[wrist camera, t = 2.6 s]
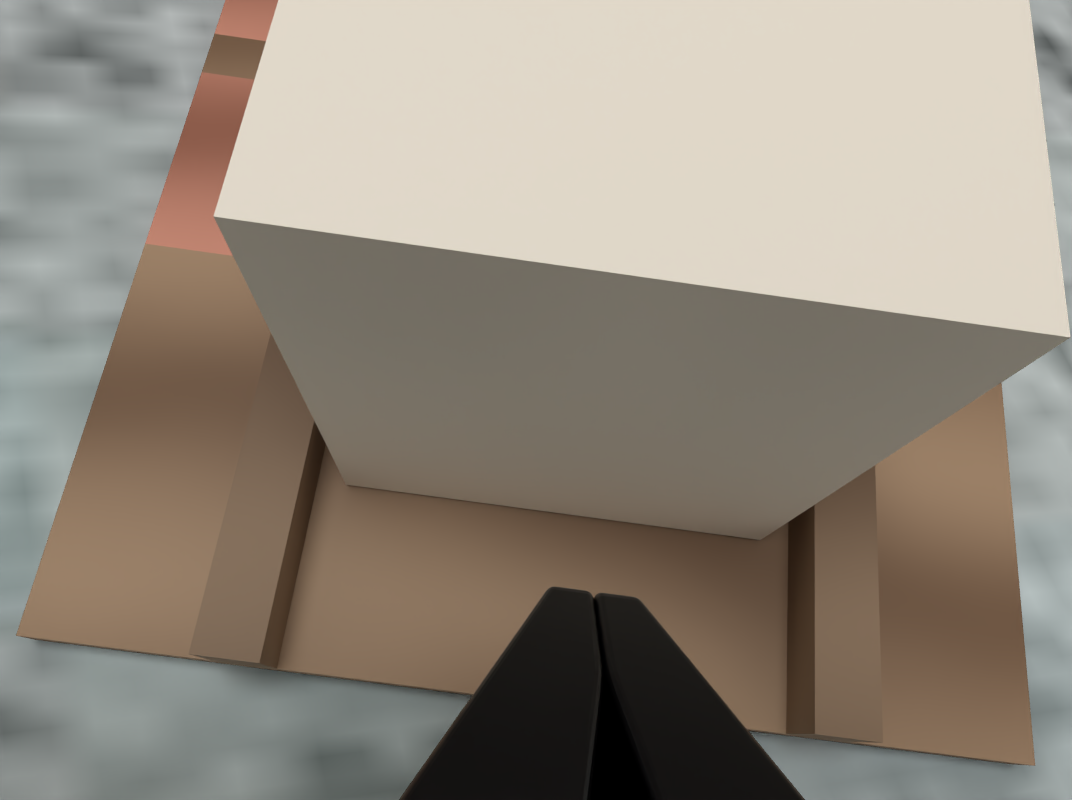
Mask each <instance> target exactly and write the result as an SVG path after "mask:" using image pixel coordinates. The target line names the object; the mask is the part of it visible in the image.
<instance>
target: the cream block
mask: <svg viewBox="0 0 1072 800" xmlns="http://www.w3.org/2000/svg"><path fill="white" fill-rule="evenodd" d="M213 217H214V219H215V221H216V223H217V225H218V227H219V229H220V231H221V233H222V235H223V237H224V239H225V241H226V243H227V245H228V247H229V249H230V251H231V253H232V255H233V257H234V259H235V261H236V263H237V265H238V267H239V269H240V271H241V273H242V275H243V277H244V279H245V281H246V283H247V285H248V287H249V289H250V291H251V293H252V295H253V297H254V299H255V302H256V304H257V306H258V308H259V310H260V312H261V314H262V316H263V318H264V320H265V322H266V324H267V326H268V328H269V330H270V332H271V334H272V336H273V338H274V340H275V342H276V344H277V346H278V348H279V350H280V352H281V354H282V356H283V358H284V360H285V362H286V364H287V366H288V368H289V370H290V372H291V374H292V376H293V378H294V380H295V382H296V384H297V386H298V388H299V391H300V393H301V395H302V397H303V399H304V401H305V403H306V405H307V407H308V409H309V411H310V413H311V415H312V417H313V419H314V421H315V423H316V425H317V427H318V429H319V431H320V433H321V435H322V437H323V439H324V441H325V443H326V445H327V447H328V449H329V451H330V453H331V455H332V457H333V459H334V461H335V463H336V465H337V467H338V469H339V471H340V473H341V475H342V477H343V480H344V482H345V484H346V485H352V486H359V487H367V488H374V489H382V490H389V491H397V492H404V493H412V494H419V495H427V496H434V497H442V498H449V499H457V500H464V501H472V502H479V503H487V504H494V505H502V506H509V507H517V508H524V509H532V510H539V511H547V512H554V513H562V514H569V515H576V516H584V517H591V518H599V519H606V520H614V521H621V522H629V523H636V524H644V525H651V526H659V527H666V528H674V529H681V530H689V531H696V532H704V533H711V534H719V535H726V536H734V537H741V538H749V539H756V540H761V539H763V538H764V537H766V536H767V535H769V534H770V533H772V532H774V531H775V530H777V529H778V528H780V527H781V526H783V525H784V524H786V523H787V522H789V521H790V520H792V519H793V518H795V517H796V516H798V515H800V514H801V513H803V512H804V511H806V510H807V509H809V508H810V507H812V506H813V505H815V504H816V503H818V502H819V501H821V500H822V499H824V498H826V497H827V496H829V495H830V494H832V493H833V492H835V491H836V490H838V489H839V488H841V487H842V486H844V485H845V484H847V483H848V482H850V481H852V480H853V479H855V478H856V477H858V476H859V475H861V474H862V473H864V472H865V471H867V470H868V469H870V468H871V467H873V466H874V465H876V464H878V463H879V462H881V461H882V460H884V459H885V458H887V457H888V456H890V455H891V454H893V453H894V452H896V451H897V450H899V449H900V448H902V447H903V446H905V445H907V444H908V443H910V442H911V441H913V440H914V439H916V438H917V437H919V436H920V435H922V434H923V433H925V432H926V431H928V430H929V429H931V428H933V427H934V426H936V425H937V424H939V423H940V422H942V421H943V420H945V419H946V418H948V417H949V416H951V415H952V414H954V413H955V412H957V411H959V410H960V409H962V408H963V407H965V406H966V405H968V404H969V403H971V402H972V401H974V400H975V399H977V398H978V397H980V396H981V395H983V394H985V393H986V392H988V391H989V390H991V389H992V388H994V387H995V386H997V385H998V384H1000V383H1001V382H1003V381H1004V380H1006V379H1007V378H1009V377H1011V376H1012V375H1014V374H1015V373H1017V372H1018V371H1020V370H1021V369H1023V368H1024V367H1026V366H1027V365H1029V364H1030V363H1032V362H1033V361H1035V360H1036V359H1038V358H1040V357H1041V356H1043V355H1044V354H1046V353H1047V352H1049V351H1050V350H1052V349H1053V348H1055V347H1056V346H1058V345H1059V344H1061V343H1062V342H1064V341H1066V340H1067V339H1069V338H1070V331H1069V322H1068V314H1067V306H1066V298H1065V290H1064V282H1063V274H1062V265H1061V257H1060V249H1059V241H1058V233H1057V225H1056V217H1055V208H1054V200H1053V192H1052V184H1051V176H1050V168H1049V159H1048V151H1047V143H1046V135H1045V127H1044V119H1043V111H1042V102H1041V94H1040V86H1039V78H1038V70H1037V62H1036V54H1035V45H1034V37H1033V29H1032V21H1031V13H1030V5H1029V0H278V3H277V6H276V10H275V13H274V16H273V20H272V23H271V26H270V30H269V33H268V36H267V40H266V43H265V46H264V50H263V53H262V56H261V60H260V63H259V66H258V70H257V73H256V76H255V80H254V83H253V86H252V90H251V93H250V96H249V100H248V103H247V106H246V110H245V113H244V116H243V120H242V123H241V126H240V130H239V133H238V136H237V140H236V143H235V146H234V150H233V153H232V156H231V160H230V163H229V166H228V170H227V173H226V176H225V180H224V183H223V186H222V190H221V193H220V196H219V200H218V203H217V206H216V210H215V213H214V216H213Z"/></svg>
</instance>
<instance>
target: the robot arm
mask: <svg viewBox="0 0 1072 800" xmlns="http://www.w3.org/2000/svg"><path fill="white" fill-rule="evenodd" d="M399 800H805V799H804V798H803V797H802V796H801V794H800V793H799V792H798V791H797V790H796V788H795V787H794V786H793V785H792V783H791V782H790V781H789V780H788V779H787V777H786V776H785V775H784V774H783V772H782V771H781V770H780V769H779V768H778V766H777V765H776V764H775V763H774V762H773V760H772V759H771V758H770V757H769V755H768V754H767V753H766V752H765V751H764V749H763V748H762V747H761V746H760V745H759V743H758V742H757V741H756V740H755V738H754V737H753V736H752V735H751V734H750V732H749V731H748V730H747V729H746V728H745V726H744V725H743V724H742V723H741V721H740V720H739V719H738V718H737V717H736V715H735V714H734V713H733V712H732V711H731V709H730V708H729V707H728V706H727V704H726V703H725V702H724V701H723V700H722V698H721V697H720V696H719V695H718V693H717V692H716V691H715V690H714V689H713V687H712V686H711V685H710V684H709V683H708V681H707V680H706V679H705V678H704V676H703V675H702V674H701V673H700V672H699V670H698V669H697V668H696V667H695V666H694V664H693V663H692V662H691V661H690V659H689V658H688V657H687V656H686V655H685V653H684V652H683V651H682V650H681V649H680V647H679V646H678V645H677V644H676V642H675V641H674V640H673V639H672V638H671V636H670V635H669V634H668V633H667V631H666V630H665V629H664V628H663V627H662V625H661V624H660V623H659V622H658V621H657V619H656V618H655V617H654V616H653V614H652V613H651V612H650V611H649V610H648V608H647V607H646V606H645V605H644V604H643V602H642V601H641V600H639V599H638V598H636V597H632V596H624V595H616V594H608V593H598V594H596V595H595V597H594V598H593V596H592V594H591V593H590V592H588V591H585V590H578V589H571V588H563V587H555V586H554V587H550V588H549V589H548V590H546V592H545V593H544V594H543V596H542V597H541V599H540V600H539V602H538V603H537V604H536V606H535V607H534V609H533V610H532V612H531V613H530V614H529V616H528V617H527V619H526V620H525V621H524V623H523V624H522V626H521V627H520V629H519V630H518V631H517V633H516V634H515V636H514V637H513V639H512V640H511V641H510V643H509V644H508V646H507V647H506V648H505V650H504V651H503V653H502V654H501V656H500V657H499V658H498V660H497V661H496V663H495V664H494V666H493V667H492V668H491V670H490V671H489V673H488V674H487V675H486V677H485V678H484V680H483V681H482V683H481V684H480V685H479V687H478V688H477V690H476V691H475V693H474V694H473V695H472V697H471V698H470V700H469V701H468V702H467V704H466V705H465V707H464V708H463V710H462V711H461V712H460V714H459V715H458V717H457V718H456V720H455V721H454V722H453V724H452V725H451V727H450V728H449V729H448V731H447V732H446V734H445V735H444V737H443V738H442V739H441V741H440V742H439V744H438V745H437V747H436V748H435V749H434V751H433V752H432V754H431V755H430V756H429V758H428V759H427V761H426V762H425V764H424V765H423V766H422V768H421V769H420V771H419V772H418V774H417V775H416V776H415V778H414V779H413V781H412V782H411V783H410V785H409V786H408V788H407V789H406V791H405V792H404V793H403V795H402V796H401V798H400V799H399Z"/></svg>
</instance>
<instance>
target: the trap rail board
mask: <svg viewBox="0 0 1072 800" xmlns="http://www.w3.org/2000/svg"><path fill="white" fill-rule="evenodd" d="M277 3H278V0H226V1H225V4H224V7H223V10H222V13H221V16H220V19H219V22H218V25H217V28H216V31H215V34H214V37H213V40H212V43H211V46H210V49H209V52H208V55H207V58H206V61H205V64H204V67H203V70H202V73H201V76H200V79H199V82H198V85H197V88H196V92H195V95H194V98H193V101H192V104H191V107H190V110H189V113H188V116H187V119H186V122H185V125H184V128H183V131H182V134H181V137H180V140H179V143H178V146H177V149H176V152H175V155H174V158H173V161H172V164H171V167H170V170H169V173H168V176H167V179H166V182H165V186H164V189H163V192H162V195H161V198H160V201H159V204H158V207H157V210H156V213H155V216H154V219H153V222H152V225H151V228H150V231H149V234H148V237H147V240H146V243H145V246H144V249H143V252H142V255H141V258H140V261H139V264H138V267H137V270H136V273H135V276H134V280H133V283H132V286H131V289H130V292H129V295H128V298H127V301H126V304H125V307H124V310H123V313H122V316H121V319H120V322H119V325H118V328H117V331H116V334H115V337H114V340H113V343H112V346H111V349H110V352H109V355H108V358H107V361H106V364H105V367H104V370H103V373H102V377H101V380H100V383H99V386H98V389H97V392H96V395H95V398H94V401H93V404H92V407H91V410H90V413H89V416H88V419H87V422H86V425H85V428H84V431H83V434H82V437H81V440H80V443H79V446H78V449H77V452H76V455H75V458H74V461H73V464H72V467H71V471H70V474H69V477H68V480H67V483H66V486H65V489H64V492H63V495H62V498H61V501H60V504H59V507H58V510H57V513H56V516H55V519H54V522H53V525H52V528H51V531H50V534H49V537H48V540H47V543H46V546H45V549H44V552H43V555H42V558H41V561H40V565H39V568H38V571H37V574H36V577H35V580H34V583H33V586H32V589H31V592H30V595H29V598H28V601H27V604H26V607H25V610H24V613H23V616H22V619H21V622H20V625H19V628H18V631H17V634H16V636H21V637H25V638H30V639H35V640H43V641H51V642H59V643H66V644H74V645H82V646H90V647H98V648H106V649H113V650H121V651H129V652H137V653H145V654H153V655H161V656H168V657H176V658H184V659H192V660H200V661H208V662H215V663H223V664H231V665H239V666H247V667H255V668H262V669H270V670H278V671H286V672H294V673H302V674H309V675H317V676H325V677H333V678H341V679H349V680H356V681H364V682H372V683H380V684H388V685H396V686H403V687H411V688H419V689H427V690H435V691H443V692H450V693H458V694H466V695H473V694H474V693H475V691H476V690H477V688H478V687H479V685H480V684H481V683H482V681H483V680H484V678H485V677H486V675H487V674H488V673H489V671H490V670H491V668H492V667H493V666H494V664H495V663H496V661H497V660H498V658H499V657H500V656H501V654H502V653H503V651H504V650H505V648H506V647H507V646H508V644H509V643H510V641H511V640H512V639H513V637H514V636H515V634H516V633H517V631H518V630H519V629H520V627H521V626H522V624H523V623H524V621H525V620H526V619H527V617H528V616H529V614H530V613H531V612H532V610H533V609H534V607H535V606H536V604H537V603H538V602H539V600H540V599H541V597H542V596H543V594H544V593H545V592H546V590H548V589H549V588H550V587H554V586H555V587H563V588H571V589H578V590H585V591H588V592H590V593H591V594H592V596H593V598H594V597H595V595H596V594H598V593H608V594H616V595H624V596H632V597H636V598H638V599H639V600H641V601H642V602H643V604H644V605H645V606H646V607H647V608H648V610H649V611H650V612H651V613H652V614H653V616H654V617H655V618H656V619H657V621H658V622H659V623H660V624H661V625H662V627H663V628H664V629H665V630H666V631H667V633H668V634H669V635H670V636H671V638H672V639H673V640H674V641H675V642H676V644H677V645H678V646H679V647H680V649H681V650H682V651H683V652H684V653H685V655H686V656H687V657H688V658H689V659H690V661H691V662H692V663H693V664H694V666H695V667H696V668H697V669H698V670H699V672H700V673H701V674H702V675H703V676H704V678H705V679H706V680H707V681H708V683H709V684H710V685H711V686H712V687H713V689H714V690H715V691H716V692H717V693H718V695H719V696H720V697H721V698H722V700H723V701H724V702H725V703H726V704H727V706H728V707H729V708H730V709H731V711H732V712H733V713H734V714H735V715H736V717H737V718H738V719H739V720H740V721H741V723H742V724H743V725H744V726H745V728H746V729H747V730H748V731H756V732H764V733H772V734H780V735H787V736H795V737H803V738H811V739H819V740H827V741H834V742H842V743H850V744H858V745H866V746H874V747H881V748H889V749H897V750H905V751H913V752H921V753H928V754H936V755H944V756H952V757H960V758H968V759H975V760H983V761H991V762H999V763H1007V764H1017V765H1033V766H1035V759H1034V748H1033V736H1032V725H1031V713H1030V702H1029V691H1028V679H1027V668H1026V657H1025V645H1024V634H1023V623H1022V611H1021V600H1020V589H1019V577H1018V566H1017V555H1016V543H1015V532H1014V521H1013V509H1012V498H1011V487H1010V475H1009V464H1008V453H1007V441H1006V430H1005V419H1004V407H1003V396H1002V384H1001V383H1000V384H998V385H997V386H995V387H994V388H992V389H991V390H989V391H988V392H986V393H985V394H983V395H981V396H980V397H978V398H977V399H975V400H974V401H972V402H971V403H969V404H968V405H966V406H965V407H963V408H962V409H960V410H959V411H957V412H955V413H954V414H952V415H951V416H949V417H948V418H946V419H945V420H943V421H942V422H940V423H939V424H937V425H936V426H934V427H933V428H931V429H929V430H928V431H926V432H925V433H923V434H922V435H920V436H919V437H917V438H916V439H914V440H913V441H911V442H910V443H908V444H907V445H905V446H903V447H902V448H900V449H899V450H897V451H896V452H894V453H893V454H891V455H890V456H888V457H887V458H885V459H884V460H882V461H881V462H879V463H878V464H876V465H874V466H873V467H871V468H870V469H868V470H867V471H865V472H864V473H862V474H861V475H859V476H858V477H856V478H855V479H853V480H852V481H850V482H848V483H847V484H845V485H844V486H842V487H841V488H839V489H838V490H836V491H835V492H833V493H832V494H830V495H829V496H827V497H826V498H824V499H822V500H821V501H819V502H818V503H816V504H815V505H813V506H812V507H810V508H809V509H807V510H806V511H804V512H803V513H801V514H800V515H798V516H796V517H795V518H793V519H792V520H790V521H789V522H787V523H786V524H784V525H783V526H781V527H780V528H778V529H777V530H775V531H774V532H772V533H770V534H769V535H767V536H766V537H764V538H763V539H761V540H756V539H749V538H741V537H734V536H726V535H719V534H711V533H704V532H696V531H689V530H681V529H674V528H666V527H659V526H651V525H644V524H636V523H629V522H621V521H614V520H606V519H599V518H591V517H584V516H576V515H569V514H562V513H554V512H547V511H539V510H532V509H524V508H517V507H509V506H502V505H494V504H487V503H479V502H472V501H464V500H457V499H449V498H442V497H434V496H427V495H419V494H412V493H404V492H397V491H389V490H382V489H374V488H367V487H359V486H352V485H346V484H345V482H344V480H343V477H342V475H341V473H340V471H339V469H338V467H337V465H336V463H335V461H334V459H333V457H332V455H331V453H330V451H329V449H328V447H327V445H326V443H325V441H324V439H323V437H322V435H321V433H320V431H319V429H318V427H317V425H316V423H315V421H314V419H313V417H312V415H311V413H310V411H309V409H308V407H307V405H306V403H305V401H304V399H303V397H302V395H301V393H300V391H299V388H298V386H297V384H296V382H295V380H294V378H293V376H292V374H291V372H290V370H289V368H288V366H287V364H286V362H285V360H284V358H283V356H282V354H281V352H280V350H279V348H278V346H277V344H276V342H275V340H274V338H273V336H272V334H271V332H270V330H269V328H268V326H267V324H266V322H265V320H264V318H263V316H262V314H261V312H260V310H259V308H258V306H257V304H256V302H255V299H254V297H253V295H252V293H251V291H250V289H249V287H248V285H247V283H246V281H245V279H244V277H243V275H242V273H241V271H240V269H239V267H238V265H237V263H236V261H235V259H234V257H233V255H232V253H231V251H230V249H229V247H228V245H227V243H226V241H225V239H224V237H223V235H222V233H221V231H220V229H219V227H218V225H217V223H216V221H215V219H214V217H213V216H214V213H215V210H216V206H217V203H218V200H219V196H220V193H221V190H222V186H223V183H224V180H225V176H226V173H227V170H228V166H229V163H230V160H231V156H232V153H233V150H234V146H235V143H236V140H237V136H238V133H239V130H240V126H241V123H242V120H243V116H244V113H245V110H246V106H247V103H248V100H249V96H250V93H251V90H252V86H253V83H254V80H255V76H256V73H257V70H258V66H259V63H260V60H261V56H262V53H263V50H264V46H265V43H266V40H267V36H268V33H269V30H270V26H271V23H272V20H273V16H274V13H275V10H276V6H277Z"/></svg>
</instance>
